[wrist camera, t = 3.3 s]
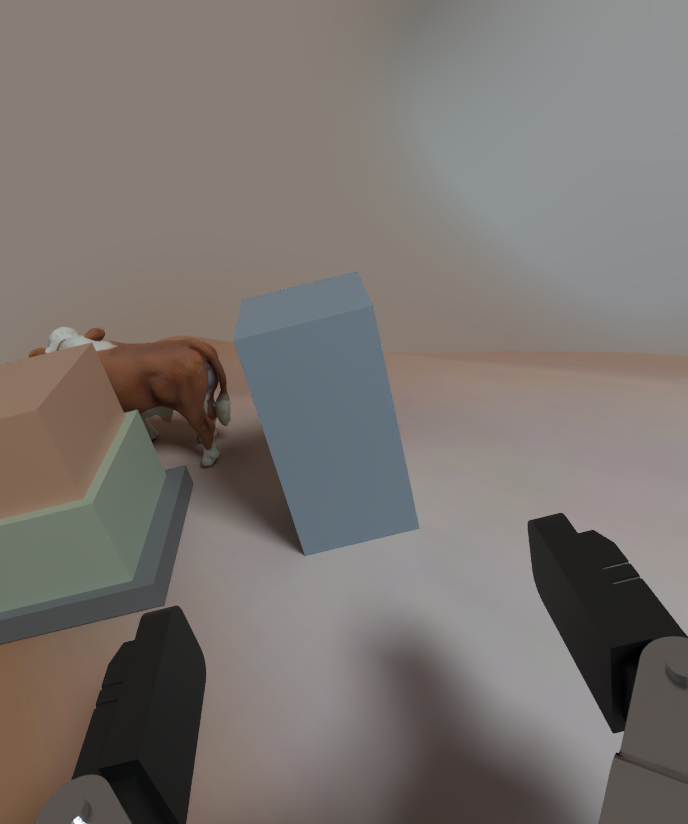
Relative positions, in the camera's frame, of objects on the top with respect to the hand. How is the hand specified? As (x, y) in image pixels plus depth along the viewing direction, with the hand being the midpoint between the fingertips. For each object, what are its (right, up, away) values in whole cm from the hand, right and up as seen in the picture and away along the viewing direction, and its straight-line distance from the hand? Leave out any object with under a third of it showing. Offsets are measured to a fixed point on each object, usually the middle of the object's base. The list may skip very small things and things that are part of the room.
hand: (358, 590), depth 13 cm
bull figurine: (-12, +2, +24) cm, 27 cm away
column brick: (0, 0, +14) cm, 14 cm away
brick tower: (-14, -3, +15) cm, 21 cm away
